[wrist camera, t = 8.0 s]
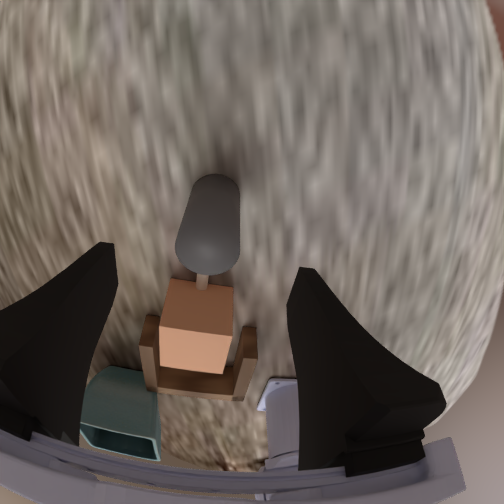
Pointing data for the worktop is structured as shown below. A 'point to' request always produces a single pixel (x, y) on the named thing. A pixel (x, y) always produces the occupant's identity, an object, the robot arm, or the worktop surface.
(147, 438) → the flower pot
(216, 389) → the lane
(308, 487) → the robot arm
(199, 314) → the tethered block
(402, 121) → the worktop surface
